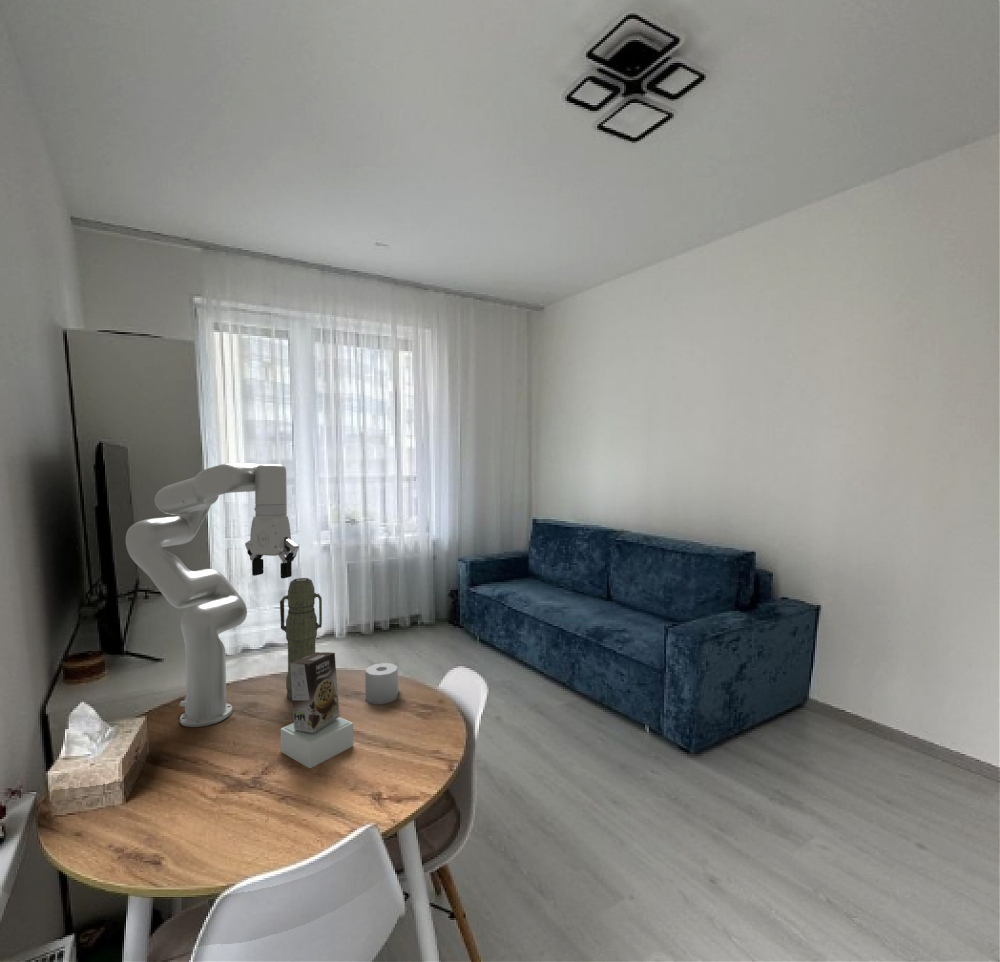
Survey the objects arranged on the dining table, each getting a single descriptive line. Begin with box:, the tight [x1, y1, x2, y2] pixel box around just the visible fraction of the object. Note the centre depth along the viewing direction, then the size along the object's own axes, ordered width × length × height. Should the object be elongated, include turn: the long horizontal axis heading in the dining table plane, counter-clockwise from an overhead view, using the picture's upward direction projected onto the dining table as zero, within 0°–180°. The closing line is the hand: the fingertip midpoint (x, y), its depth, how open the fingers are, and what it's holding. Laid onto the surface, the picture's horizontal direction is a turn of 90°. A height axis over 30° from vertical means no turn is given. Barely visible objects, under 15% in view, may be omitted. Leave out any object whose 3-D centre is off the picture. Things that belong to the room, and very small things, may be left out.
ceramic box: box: [280, 717, 354, 769], centre depth 125 cm, size 12×12×6 cm
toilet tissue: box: [364, 662, 400, 705], centre depth 155 cm, size 9×13×9 cm
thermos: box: [279, 577, 323, 700], centre depth 156 cm, size 9×12×35 cm
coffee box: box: [290, 651, 340, 733], centre depth 125 cm, size 9×6×16 cm
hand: (271, 576), depth 135 cm, fingers open, 9 cm apart
